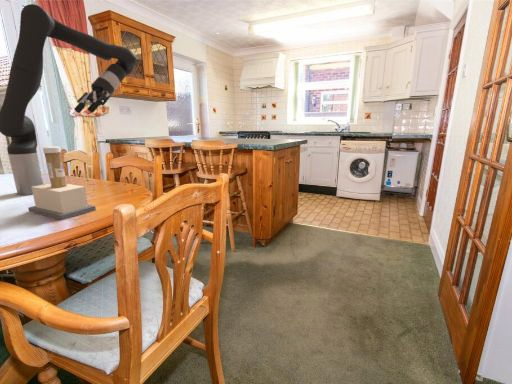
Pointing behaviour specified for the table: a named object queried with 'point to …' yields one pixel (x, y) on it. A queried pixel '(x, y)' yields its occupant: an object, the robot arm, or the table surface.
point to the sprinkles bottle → (55, 166)
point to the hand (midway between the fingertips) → (83, 111)
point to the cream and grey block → (60, 201)
